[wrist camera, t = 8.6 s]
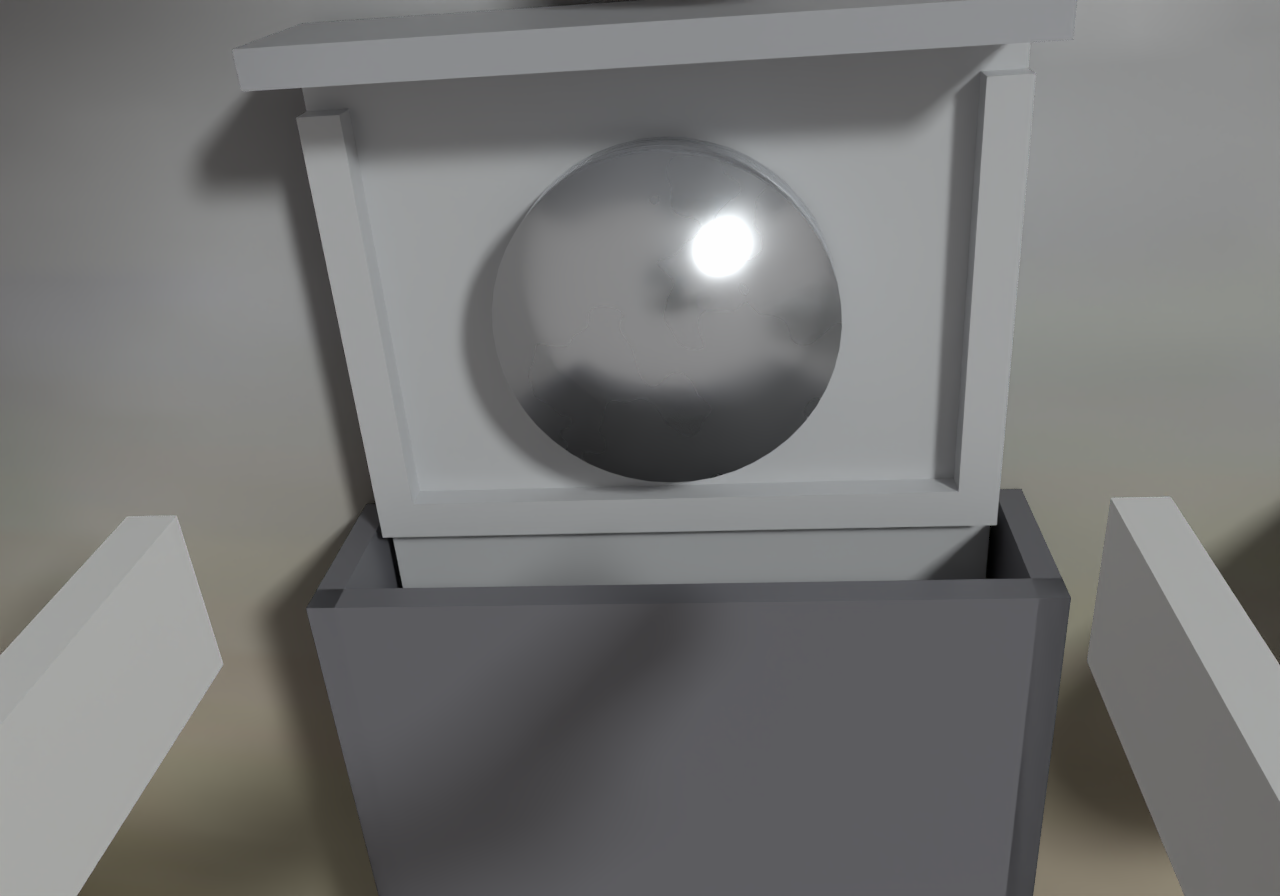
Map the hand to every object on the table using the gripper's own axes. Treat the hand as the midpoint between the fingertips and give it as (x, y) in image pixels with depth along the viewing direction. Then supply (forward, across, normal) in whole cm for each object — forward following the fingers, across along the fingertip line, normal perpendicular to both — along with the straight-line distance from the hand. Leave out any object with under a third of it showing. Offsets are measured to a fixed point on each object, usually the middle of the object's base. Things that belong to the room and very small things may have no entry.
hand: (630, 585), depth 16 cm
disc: (+12, 0, 0) cm, 12 cm away
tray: (+13, 0, -3) cm, 14 cm away
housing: (+13, 0, -15) cm, 20 cm away
